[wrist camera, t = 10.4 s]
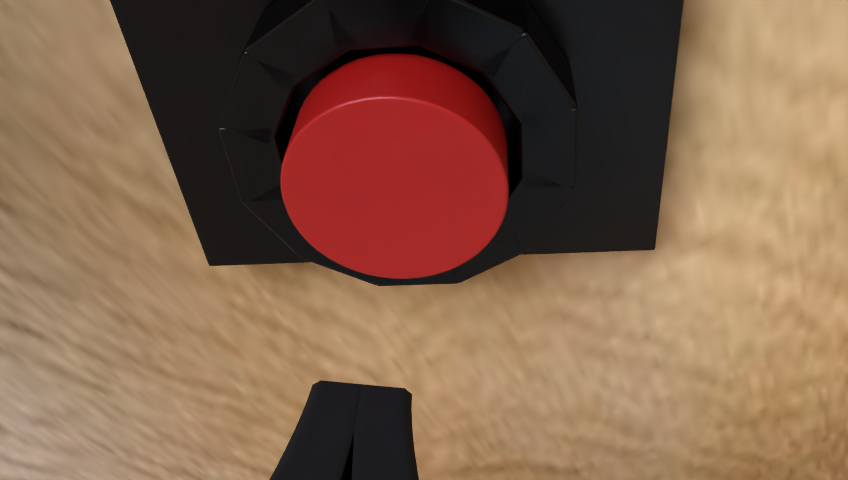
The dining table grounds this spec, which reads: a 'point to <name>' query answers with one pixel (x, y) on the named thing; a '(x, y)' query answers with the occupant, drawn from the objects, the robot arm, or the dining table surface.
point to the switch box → (440, 40)
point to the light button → (397, 167)
